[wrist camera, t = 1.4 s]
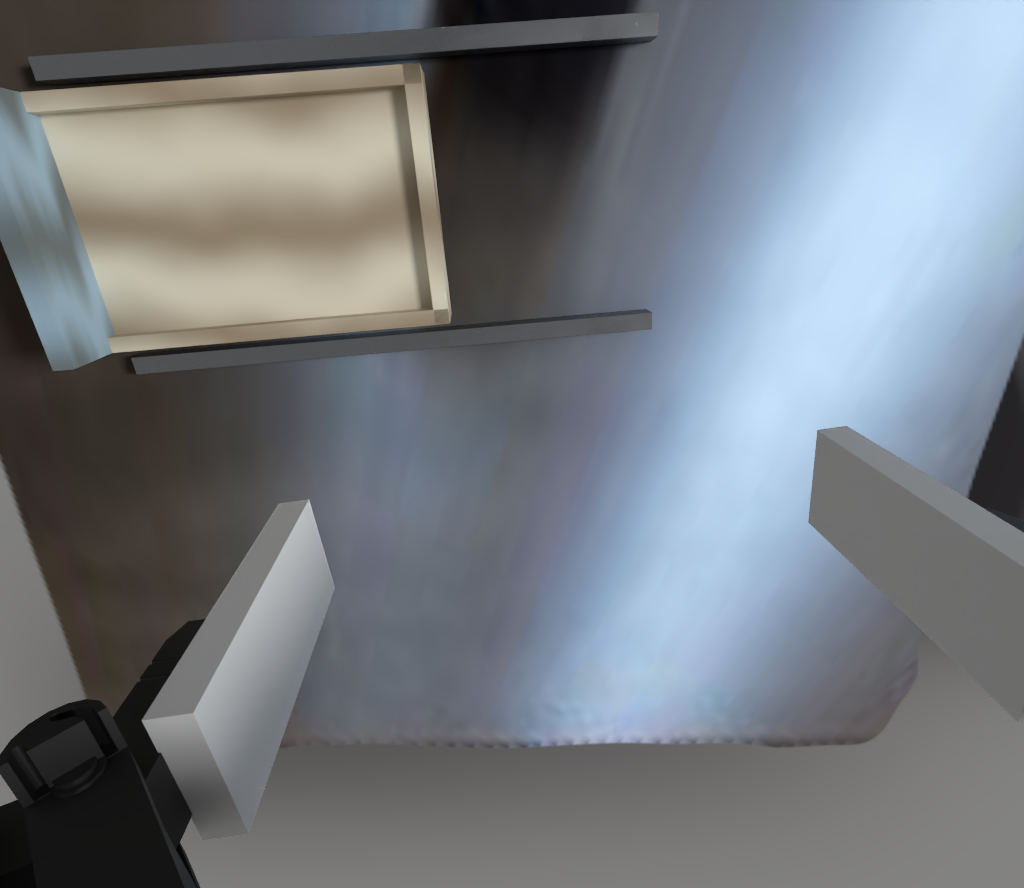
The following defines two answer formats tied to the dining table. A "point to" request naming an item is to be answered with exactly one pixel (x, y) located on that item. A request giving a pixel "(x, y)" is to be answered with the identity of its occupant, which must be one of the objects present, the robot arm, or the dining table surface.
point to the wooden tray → (222, 210)
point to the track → (347, 52)
